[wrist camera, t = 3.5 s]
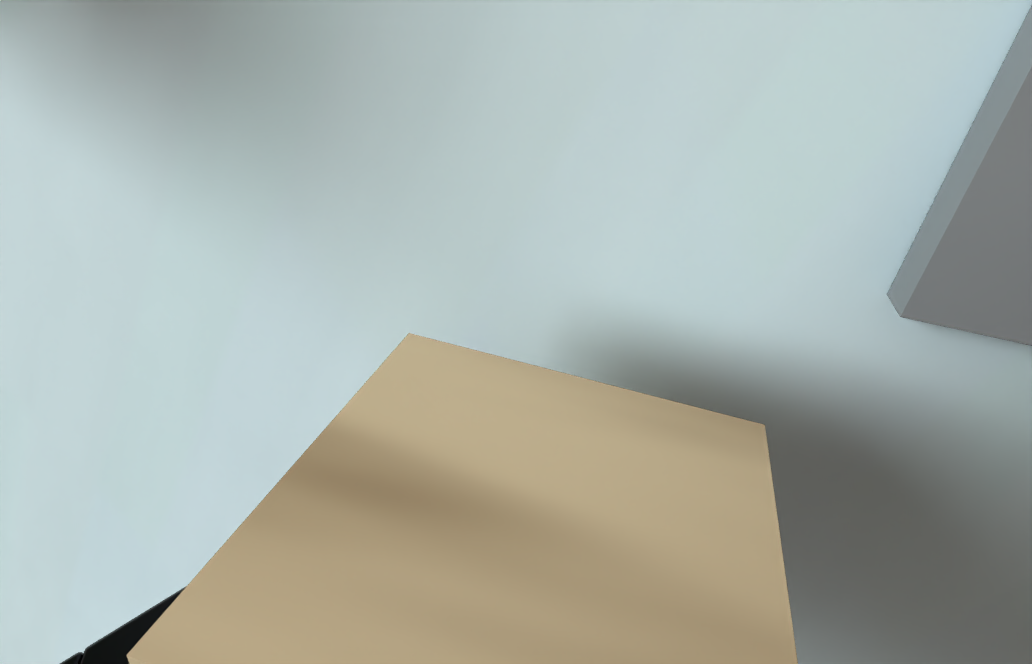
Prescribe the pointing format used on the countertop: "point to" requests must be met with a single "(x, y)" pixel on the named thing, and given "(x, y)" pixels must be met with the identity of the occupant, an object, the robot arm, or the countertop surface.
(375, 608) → the oak cube
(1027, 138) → the slate plate
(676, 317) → the countertop surface
